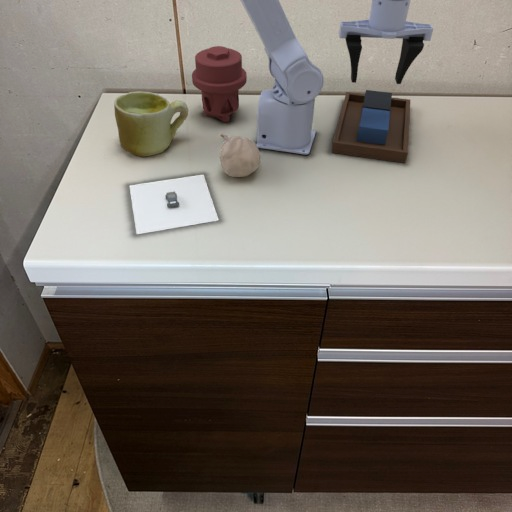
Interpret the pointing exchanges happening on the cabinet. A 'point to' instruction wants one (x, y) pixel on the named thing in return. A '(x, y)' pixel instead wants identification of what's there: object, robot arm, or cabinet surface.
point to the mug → (147, 122)
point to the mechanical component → (219, 80)
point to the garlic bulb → (239, 156)
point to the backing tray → (390, 151)
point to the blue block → (373, 126)
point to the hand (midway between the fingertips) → (375, 80)
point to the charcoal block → (377, 100)
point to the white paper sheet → (171, 204)
